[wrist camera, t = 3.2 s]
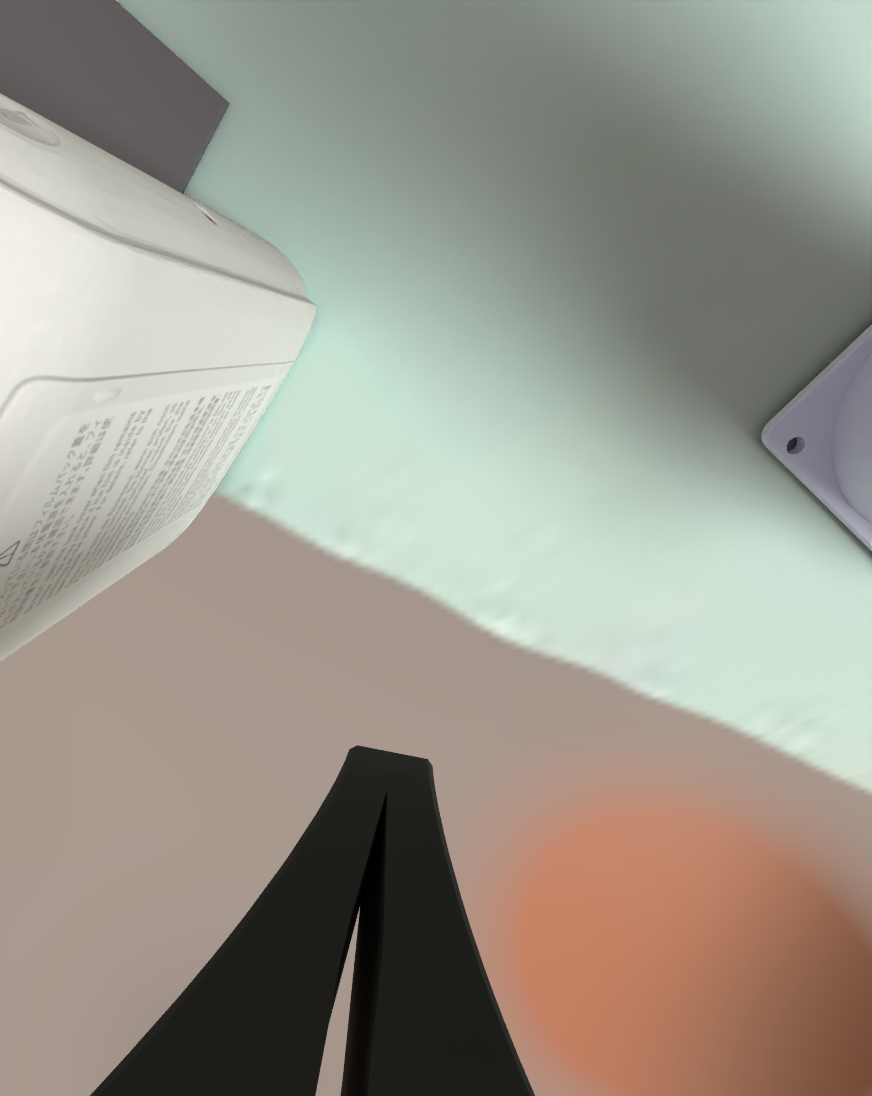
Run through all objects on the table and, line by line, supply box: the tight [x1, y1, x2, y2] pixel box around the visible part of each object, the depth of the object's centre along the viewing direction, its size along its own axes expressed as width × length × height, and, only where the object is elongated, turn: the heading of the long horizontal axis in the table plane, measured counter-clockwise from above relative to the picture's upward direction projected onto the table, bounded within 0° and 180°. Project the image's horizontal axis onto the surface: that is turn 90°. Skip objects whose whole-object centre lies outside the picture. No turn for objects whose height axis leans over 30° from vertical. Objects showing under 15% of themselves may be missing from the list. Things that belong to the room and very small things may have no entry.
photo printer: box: [0, 93, 317, 662], centre depth 11 cm, size 10×4×12 cm, turn 142°
